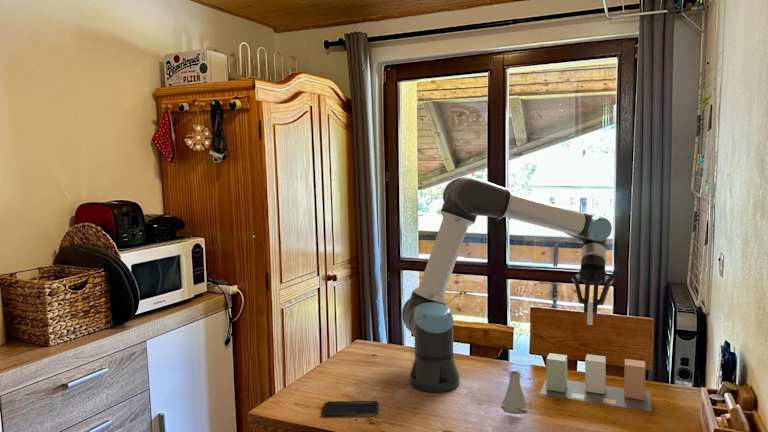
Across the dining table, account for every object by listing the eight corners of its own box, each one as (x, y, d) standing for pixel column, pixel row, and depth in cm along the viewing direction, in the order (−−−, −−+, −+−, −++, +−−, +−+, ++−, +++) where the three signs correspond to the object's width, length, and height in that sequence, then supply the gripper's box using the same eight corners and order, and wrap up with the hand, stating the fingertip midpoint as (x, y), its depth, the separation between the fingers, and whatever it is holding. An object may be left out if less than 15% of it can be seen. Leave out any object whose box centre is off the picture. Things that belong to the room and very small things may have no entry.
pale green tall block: (546, 389, 148) (546, 358, 148) (549, 383, 153) (549, 353, 152) (564, 392, 146) (565, 361, 145) (567, 385, 151) (567, 355, 150)
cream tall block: (585, 391, 147) (585, 359, 146) (586, 384, 151) (586, 354, 150) (604, 394, 144) (604, 362, 144) (605, 387, 149) (605, 356, 148)
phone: (325, 401, 147) (378, 400, 146) (325, 405, 147) (378, 404, 146) (320, 414, 139) (377, 413, 138) (321, 418, 139) (377, 417, 138)
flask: (529, 415, 137) (529, 378, 136) (501, 413, 138) (501, 377, 137) (527, 403, 144) (527, 368, 143) (500, 402, 145) (500, 367, 144)
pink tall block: (624, 397, 142) (624, 364, 142) (624, 390, 147) (625, 358, 146) (644, 400, 140) (645, 367, 139) (644, 392, 145) (645, 361, 144)
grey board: (539, 398, 146) (539, 393, 146) (546, 381, 158) (546, 376, 158) (651, 417, 134) (651, 411, 134) (650, 397, 146) (650, 391, 146)
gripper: (614, 267, 174) (613, 330, 161) (573, 265, 180) (568, 326, 166) (614, 254, 169) (612, 318, 156) (571, 252, 175) (566, 314, 161)
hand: (589, 322), depth 161 cm, fingers closed
